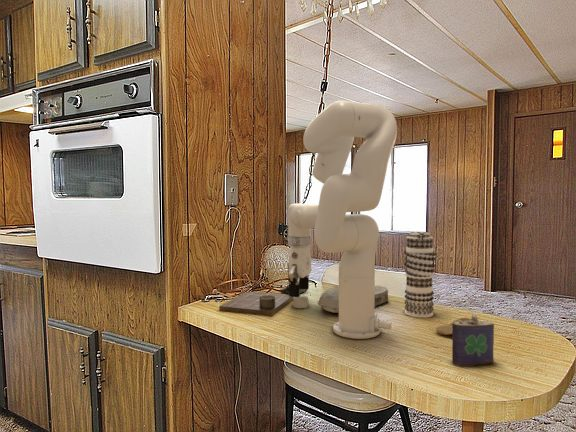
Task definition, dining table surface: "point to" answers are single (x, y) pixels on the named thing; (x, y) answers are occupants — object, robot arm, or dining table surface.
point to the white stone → (300, 301)
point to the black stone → (267, 302)
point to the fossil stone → (331, 298)
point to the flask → (472, 342)
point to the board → (254, 303)
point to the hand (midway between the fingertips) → (299, 292)
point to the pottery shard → (449, 327)
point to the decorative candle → (419, 274)
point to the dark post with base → (288, 287)
